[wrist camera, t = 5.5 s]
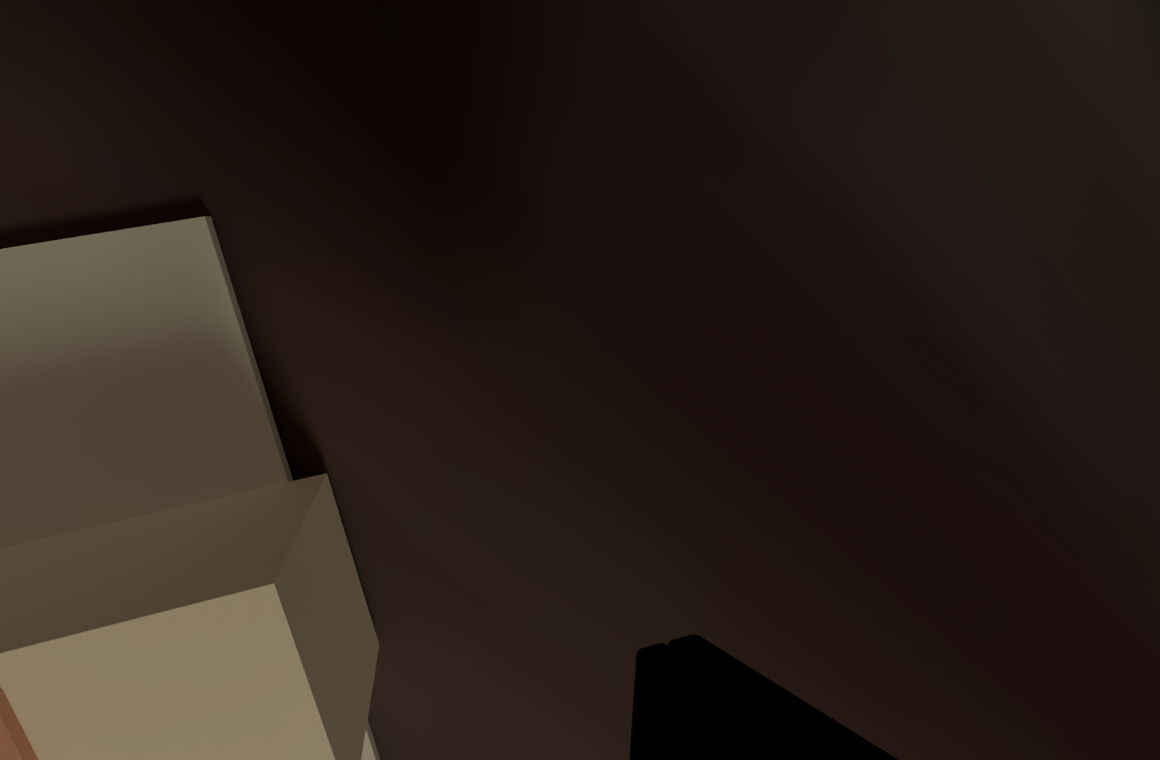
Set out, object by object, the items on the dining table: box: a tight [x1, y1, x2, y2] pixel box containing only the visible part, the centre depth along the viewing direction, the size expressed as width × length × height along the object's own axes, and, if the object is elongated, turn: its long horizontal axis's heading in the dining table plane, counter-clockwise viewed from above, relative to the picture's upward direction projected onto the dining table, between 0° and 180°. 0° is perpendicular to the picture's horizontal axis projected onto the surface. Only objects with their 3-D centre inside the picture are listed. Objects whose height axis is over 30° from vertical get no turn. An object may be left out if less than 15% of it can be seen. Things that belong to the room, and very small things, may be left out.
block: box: [0, 473, 379, 760], centre depth 10 cm, size 4×4×9 cm
